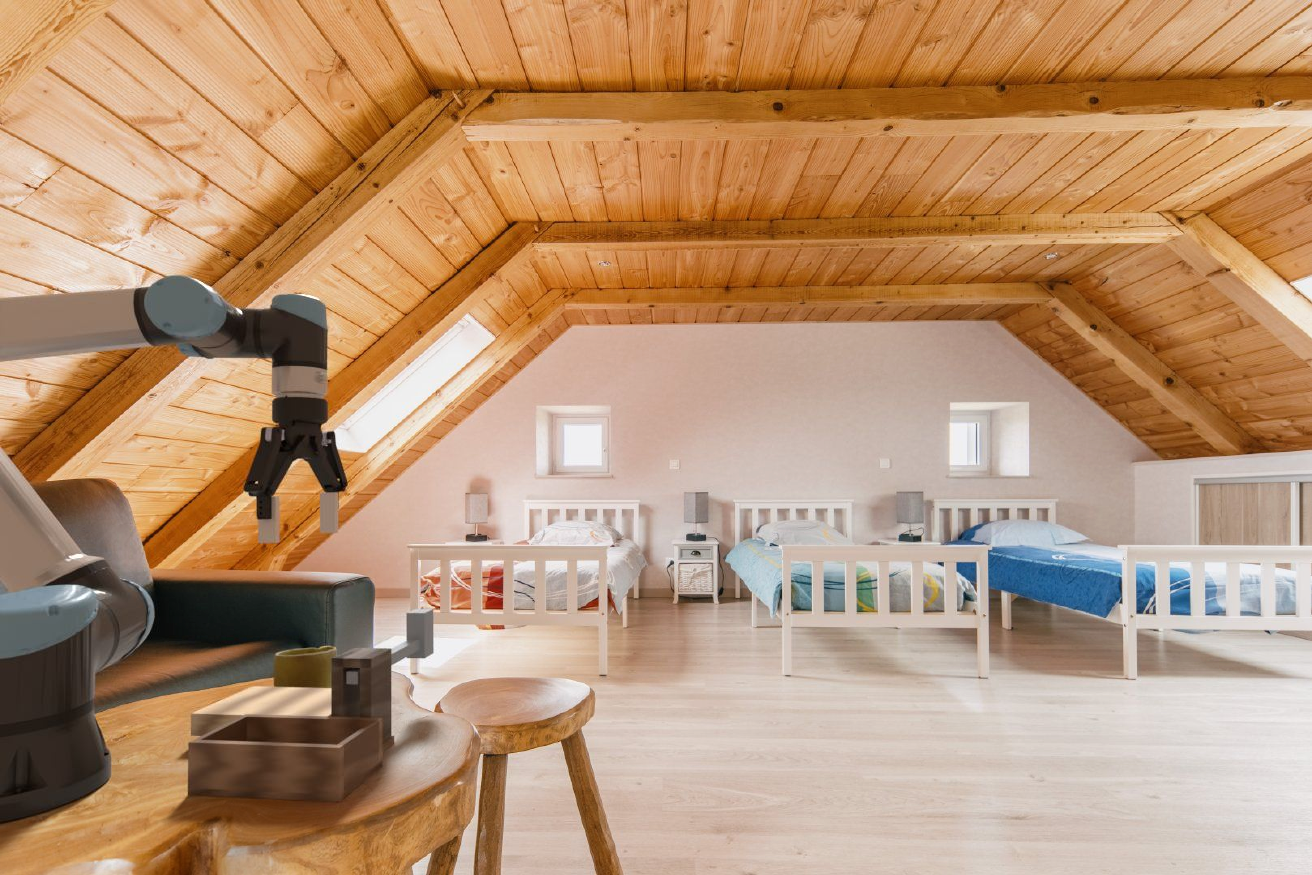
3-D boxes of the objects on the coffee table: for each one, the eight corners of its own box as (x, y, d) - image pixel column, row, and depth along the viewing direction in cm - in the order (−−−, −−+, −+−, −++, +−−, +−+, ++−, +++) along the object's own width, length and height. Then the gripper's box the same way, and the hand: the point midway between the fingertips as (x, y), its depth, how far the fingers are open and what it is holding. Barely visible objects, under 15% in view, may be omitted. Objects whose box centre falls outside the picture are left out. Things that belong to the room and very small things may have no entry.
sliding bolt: (341, 694, 87) (341, 640, 87) (415, 652, 107) (415, 608, 107) (362, 695, 87) (362, 641, 87) (433, 653, 106) (433, 609, 107)
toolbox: (187, 794, 77) (189, 683, 78) (282, 739, 93) (283, 646, 93) (339, 802, 75) (339, 686, 75) (410, 743, 90) (409, 648, 91)
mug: (313, 701, 102) (306, 637, 105) (259, 719, 104) (253, 655, 107) (366, 691, 114) (358, 633, 117) (317, 707, 116) (310, 650, 119)
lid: (190, 746, 91) (191, 713, 91) (252, 715, 102) (252, 686, 103) (324, 751, 88) (325, 717, 89) (372, 719, 100) (372, 689, 100)
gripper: (263, 387, 88) (264, 547, 87) (369, 404, 113) (370, 529, 112) (212, 389, 89) (212, 548, 88) (328, 406, 114) (329, 529, 113)
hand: (301, 537), depth 100 cm, fingers open, 13 cm apart
